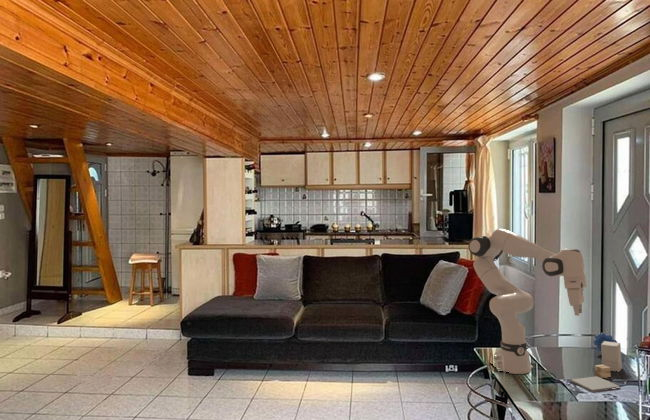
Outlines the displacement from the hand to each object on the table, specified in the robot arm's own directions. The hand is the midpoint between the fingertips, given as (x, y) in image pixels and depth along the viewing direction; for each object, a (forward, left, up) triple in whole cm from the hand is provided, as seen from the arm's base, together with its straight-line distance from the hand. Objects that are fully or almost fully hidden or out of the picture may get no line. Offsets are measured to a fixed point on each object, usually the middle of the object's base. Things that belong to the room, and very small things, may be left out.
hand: (578, 314), depth 219 cm
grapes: (-34, +42, -33) cm, 63 cm away
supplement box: (-15, +29, -33) cm, 46 cm away
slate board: (+1, +6, -33) cm, 33 cm away
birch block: (-7, +17, -33) cm, 37 cm away
